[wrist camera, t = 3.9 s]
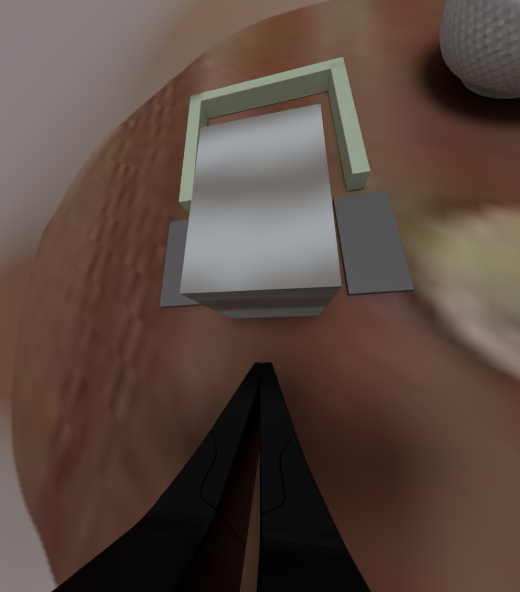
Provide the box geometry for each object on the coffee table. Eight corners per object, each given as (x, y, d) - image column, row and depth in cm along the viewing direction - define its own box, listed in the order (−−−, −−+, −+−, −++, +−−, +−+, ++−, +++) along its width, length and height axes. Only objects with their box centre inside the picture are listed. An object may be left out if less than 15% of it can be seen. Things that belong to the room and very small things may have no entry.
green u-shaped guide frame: (411, 290, 16) (427, 282, 14) (162, 307, 19) (148, 303, 17) (355, 76, 23) (361, 52, 21) (185, 117, 27) (177, 99, 25)
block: (318, 316, 17) (341, 286, 8) (231, 318, 18) (179, 293, 10) (309, 203, 20) (320, 103, 12) (236, 212, 21) (200, 127, 13)
